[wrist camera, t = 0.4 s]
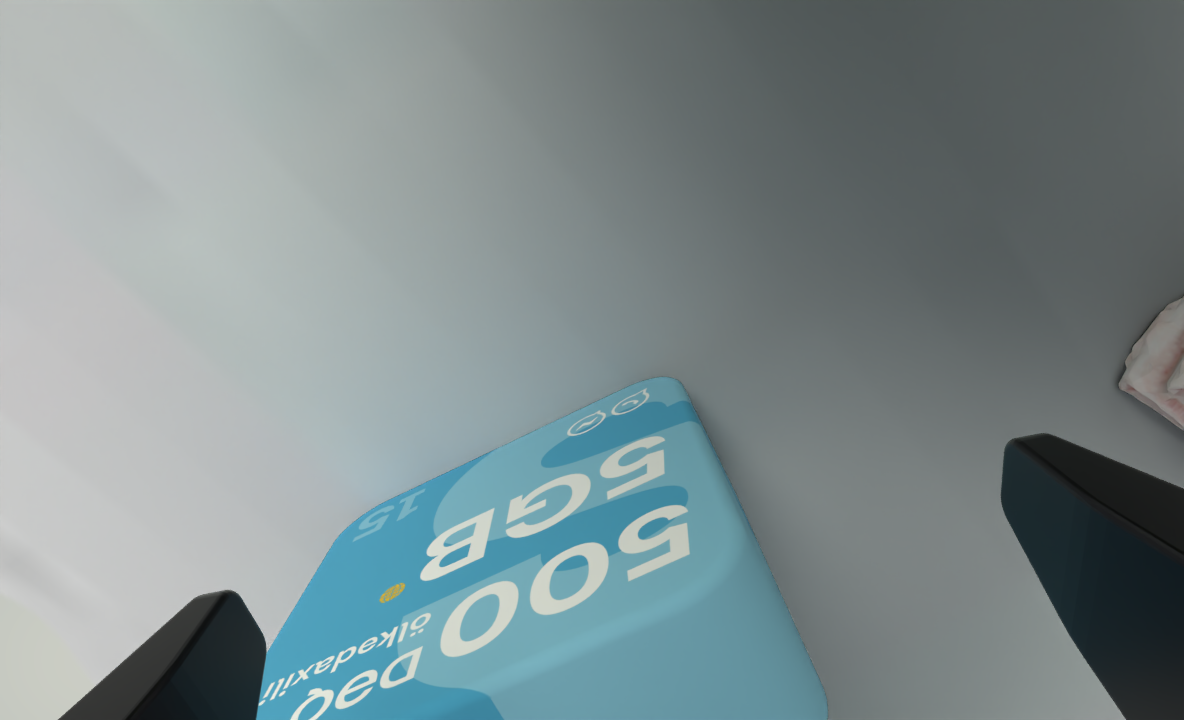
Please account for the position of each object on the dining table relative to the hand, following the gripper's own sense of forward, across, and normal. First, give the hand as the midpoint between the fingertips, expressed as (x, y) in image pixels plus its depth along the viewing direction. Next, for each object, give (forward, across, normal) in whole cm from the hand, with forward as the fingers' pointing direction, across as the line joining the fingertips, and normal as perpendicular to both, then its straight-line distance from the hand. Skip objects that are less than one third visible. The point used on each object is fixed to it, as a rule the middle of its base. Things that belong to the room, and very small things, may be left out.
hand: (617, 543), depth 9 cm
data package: (+14, +3, +10) cm, 17 cm away
